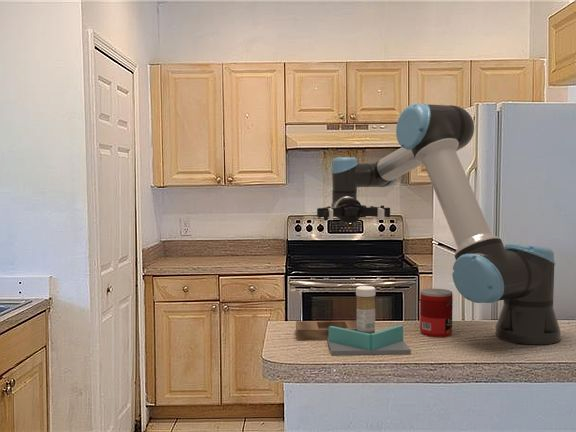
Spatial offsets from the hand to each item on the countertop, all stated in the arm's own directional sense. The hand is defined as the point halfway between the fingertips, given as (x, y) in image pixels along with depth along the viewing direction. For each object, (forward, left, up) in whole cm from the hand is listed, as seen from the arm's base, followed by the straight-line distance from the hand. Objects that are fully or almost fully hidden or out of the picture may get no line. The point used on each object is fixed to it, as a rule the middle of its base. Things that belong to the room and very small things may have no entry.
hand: (357, 214), depth 175 cm
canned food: (-21, +2, -30) cm, 37 cm away
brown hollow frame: (+4, +11, -30) cm, 32 cm away
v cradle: (-7, +20, -30) cm, 37 cm away
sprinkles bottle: (-6, +20, -29) cm, 36 cm away
